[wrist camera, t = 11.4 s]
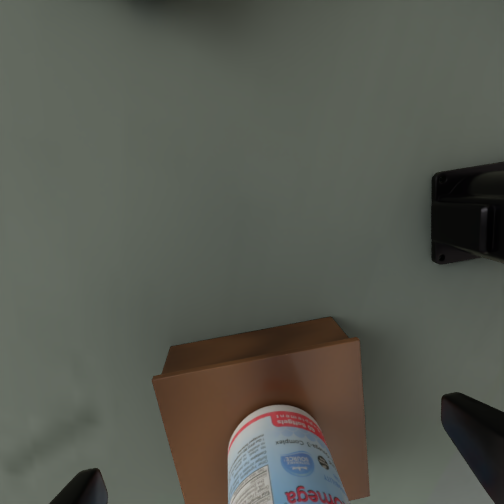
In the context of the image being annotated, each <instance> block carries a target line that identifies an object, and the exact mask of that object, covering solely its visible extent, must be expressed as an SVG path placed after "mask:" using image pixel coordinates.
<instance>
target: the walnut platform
mask: <svg viewBox="0 0 504 504" xmlns="http://www.w3.org/2000/svg"><path fill="white" fill-rule="evenodd" d="M152 383H153V386H154V390H155V394H156V397H157V401H158V405H159V408H160V412H161V416H162V419H163V423H164V427H165V430H166V434H167V438H168V441H169V445H170V449H171V452H172V456H173V460H174V463H175V467H176V471H177V474H178V478H179V482H180V486H181V489H182V493H183V497H184V500H185V504H228V447H229V442H230V439H231V437H232V435H233V433H234V431H235V430H236V428H237V427H238V425H239V424H240V423H241V422H242V421H243V420H244V419H245V418H246V417H247V416H248V415H250V414H251V413H253V412H254V411H256V410H258V409H260V408H263V407H266V406H271V405H289V406H293V407H296V408H299V409H301V410H303V411H305V412H306V413H308V414H309V415H310V416H311V417H312V418H313V419H314V420H315V421H316V422H317V424H318V425H319V427H320V429H321V431H322V434H323V436H324V439H325V441H326V444H327V446H328V449H329V451H330V454H331V457H332V459H333V462H334V464H335V467H336V469H337V472H338V475H339V477H340V480H341V482H342V485H343V487H344V490H345V492H346V495H347V497H348V500H349V501H351V500H355V499H359V498H364V497H368V496H370V490H369V475H368V460H367V444H366V429H365V414H364V399H363V383H362V368H361V353H360V340H359V339H358V338H357V337H354V338H349V337H348V336H347V335H346V334H345V333H344V331H343V330H342V329H341V328H340V327H339V325H338V324H337V323H336V322H335V321H334V319H333V318H332V317H326V318H321V319H315V320H310V321H305V322H299V323H294V324H289V325H283V326H278V327H273V328H267V329H262V330H257V331H251V332H246V333H241V334H235V335H230V336H225V337H219V338H214V339H209V340H203V341H198V342H193V343H187V344H182V345H177V346H171V347H170V350H169V353H168V356H167V359H166V362H165V365H164V368H163V371H162V374H161V375H157V376H153V379H152Z"/></svg>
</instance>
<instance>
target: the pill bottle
mask: <svg viewBox="0 0 504 504" xmlns="http://www.w3.org/2000/svg"><path fill="white" fill-rule="evenodd" d="M228 504H350V503H349V500H348V497H347V495H346V492H345V490H344V487H343V485H342V482H341V480H340V477H339V475H338V472H337V469H336V467H335V464H334V462H333V459H332V457H331V454H330V451H329V449H328V446H327V444H326V441H325V439H324V436H323V434H322V431H321V429H320V427H319V425H318V424H317V422H316V421H315V420H314V419H313V418H312V417H311V416H310V415H309V414H308V413H306V412H305V411H303V410H301V409H299V408H296V407H293V406H289V405H271V406H266V407H263V408H260V409H258V410H256V411H254V412H253V413H251V414H250V415H248V416H247V417H246V418H245V419H244V420H243V421H242V422H241V423H240V424H239V425H238V427H237V428H236V430H235V431H234V433H233V435H232V437H231V439H230V442H229V447H228Z"/></svg>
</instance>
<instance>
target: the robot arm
mask: <svg viewBox="0 0 504 504" xmlns="http://www.w3.org/2000/svg"><path fill="white" fill-rule="evenodd" d="M440 177H442V181H441V182H440ZM431 239H432V261H433V262H435V263H437V264H447V263H453V262H458V261H464V260H469V259H475V258H481V257H483V258H486V259H490V260H494V261H497V262H501V263H504V162H499V163H493V164H486V165H480V166H474V167H467V168H461V169H455V170H448V171H442V172H437V173H436V174H434V176H433V177H432V206H431ZM440 255H441V258H440V259H439V256H440ZM441 421H442V425H443V427H444V429H445V431H446V432H447V434H448V435H449V437H450V438H451V440H452V441H453V443H454V444H455V446H456V447H457V449H458V450H459V452H460V453H461V455H462V456H463V458H464V459H465V461H466V462H467V464H468V465H469V467H470V468H471V470H472V471H473V473H474V474H475V476H476V477H477V479H478V480H479V482H480V483H481V485H482V486H483V487H484V489H485V490H486V492H487V493H488V495H489V496H490V497H491V499H492V500H493V501H494V503H495V504H504V412H502V411H500V410H498V409H496V408H493V407H491V406H489V405H487V404H484V403H482V402H480V401H478V400H475V399H473V398H471V397H469V396H466V395H464V394H462V393H459V392H454V393H449V394H445V395H443V396H442V399H441ZM107 503H108V492H107V489H106V486H105V483H104V480H103V478H102V475H101V472H100V470H99V469H98V468H93V469H88V470H83V471H81V472H79V473H78V474H77V475H76V476H75V477H74V478H73V479H72V480H71V481H70V482H69V483H68V484H67V485H66V486H65V487H64V488H63V490H62V491H61V492H60V493H59V494H58V495H57V496H56V497H55V498H54V499H53V500H52V501H51V502H50V503H49V504H107Z"/></svg>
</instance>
